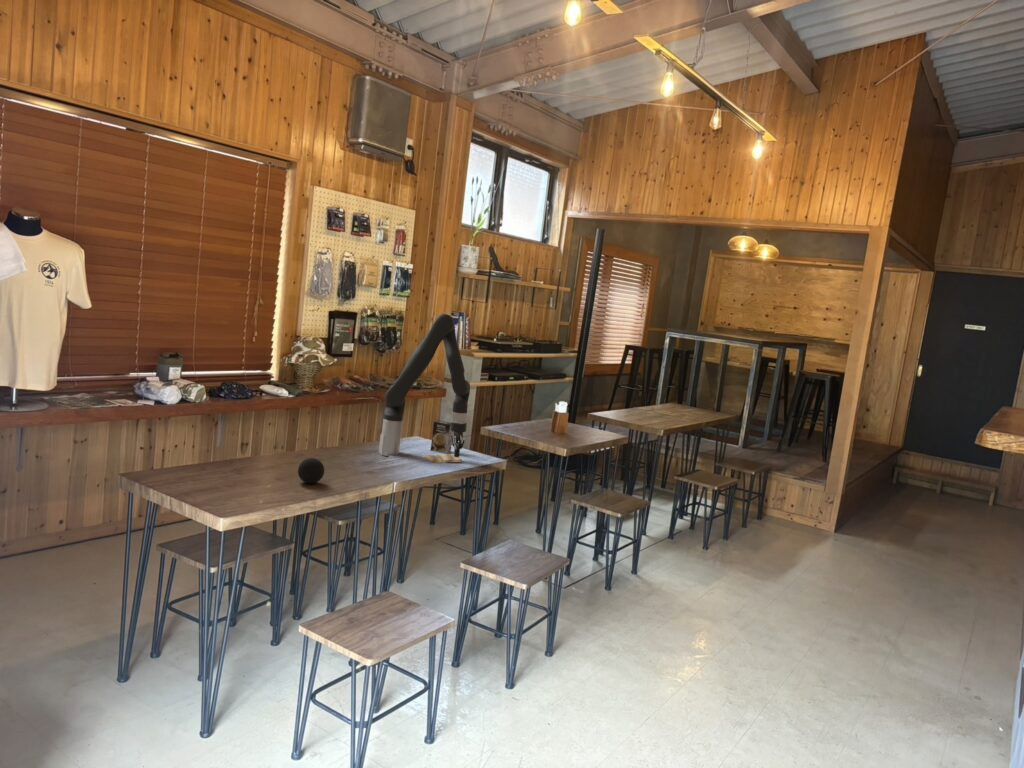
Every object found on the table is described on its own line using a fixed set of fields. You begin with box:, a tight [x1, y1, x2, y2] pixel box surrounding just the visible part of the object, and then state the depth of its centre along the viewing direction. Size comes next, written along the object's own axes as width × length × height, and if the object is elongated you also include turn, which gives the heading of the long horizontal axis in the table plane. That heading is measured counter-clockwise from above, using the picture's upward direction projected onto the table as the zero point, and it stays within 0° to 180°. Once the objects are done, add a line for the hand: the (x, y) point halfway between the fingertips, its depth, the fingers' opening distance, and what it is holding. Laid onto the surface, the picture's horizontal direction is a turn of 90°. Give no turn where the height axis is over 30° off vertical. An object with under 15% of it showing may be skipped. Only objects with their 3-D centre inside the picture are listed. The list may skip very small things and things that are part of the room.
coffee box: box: [430, 420, 454, 454], centre depth 368 cm, size 9×6×16 cm
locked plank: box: [424, 454, 444, 464], centre depth 347 cm, size 6×11×1 cm, turn 24°
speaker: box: [297, 457, 325, 485], centre depth 285 cm, size 10×10×10 cm
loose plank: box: [436, 453, 463, 464], centre depth 350 cm, size 9×11×1 cm
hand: (456, 456), depth 352 cm, fingers closed
